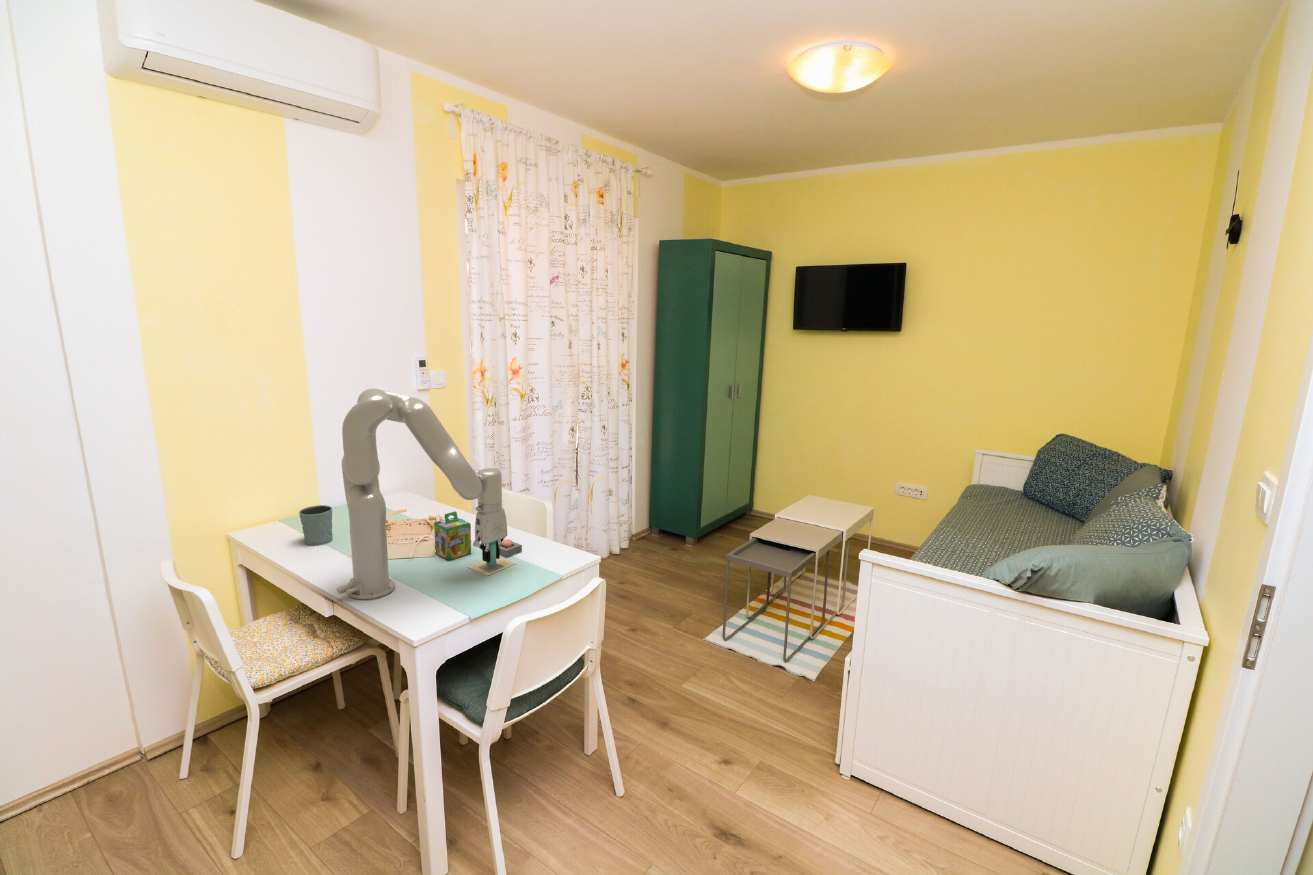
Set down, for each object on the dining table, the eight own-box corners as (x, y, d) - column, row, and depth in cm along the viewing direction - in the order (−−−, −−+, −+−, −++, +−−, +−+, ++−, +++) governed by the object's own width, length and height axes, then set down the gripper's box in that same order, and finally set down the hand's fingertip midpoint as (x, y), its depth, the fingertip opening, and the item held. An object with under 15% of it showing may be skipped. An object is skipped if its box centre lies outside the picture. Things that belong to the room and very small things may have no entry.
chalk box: (448, 561, 198) (446, 519, 195) (434, 553, 204) (432, 513, 201) (472, 553, 205) (471, 513, 202) (458, 546, 211) (456, 507, 208)
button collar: (506, 557, 203) (506, 550, 202) (493, 552, 206) (492, 545, 206) (521, 551, 208) (521, 544, 208) (508, 546, 212) (508, 540, 212)
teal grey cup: (340, 537, 215) (338, 506, 212) (322, 547, 205) (319, 515, 202) (314, 535, 216) (311, 504, 213) (295, 545, 206) (292, 513, 203)
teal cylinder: (490, 566, 192) (490, 541, 190) (483, 564, 194) (483, 538, 192) (498, 563, 194) (498, 538, 193) (492, 560, 196) (491, 535, 195)
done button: (507, 550, 205) (506, 543, 204) (501, 547, 207) (501, 540, 206) (513, 547, 207) (513, 540, 207) (507, 545, 209) (507, 538, 209)
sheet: (487, 575, 188) (487, 575, 188) (467, 567, 194) (467, 566, 194) (515, 564, 198) (515, 563, 198) (496, 556, 203) (496, 555, 203)
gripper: (476, 515, 181) (478, 570, 185) (517, 503, 195) (517, 554, 198) (461, 510, 186) (463, 564, 189) (502, 498, 199) (503, 549, 202)
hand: (491, 559), depth 194 cm, fingers closed on teal cylinder, 3 cm apart
